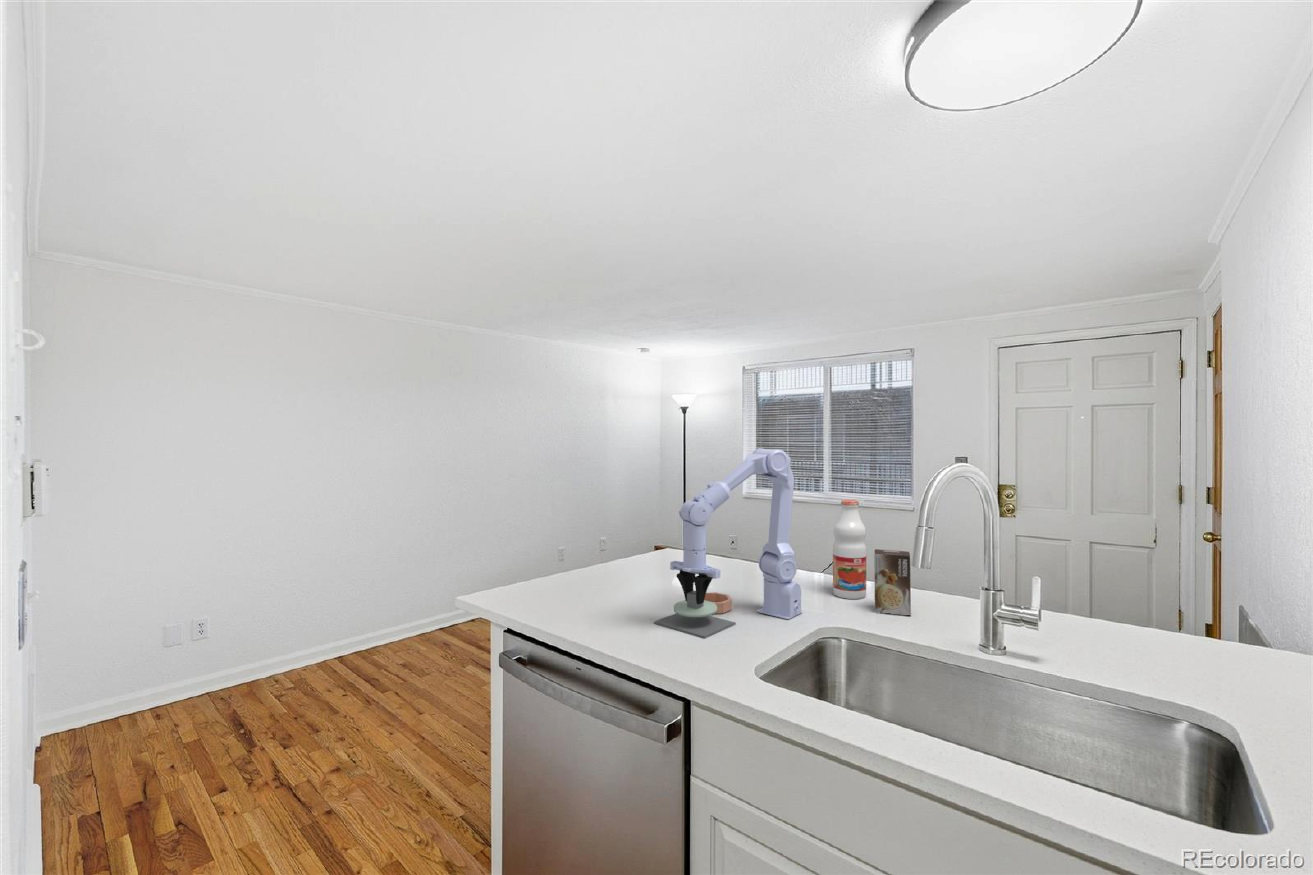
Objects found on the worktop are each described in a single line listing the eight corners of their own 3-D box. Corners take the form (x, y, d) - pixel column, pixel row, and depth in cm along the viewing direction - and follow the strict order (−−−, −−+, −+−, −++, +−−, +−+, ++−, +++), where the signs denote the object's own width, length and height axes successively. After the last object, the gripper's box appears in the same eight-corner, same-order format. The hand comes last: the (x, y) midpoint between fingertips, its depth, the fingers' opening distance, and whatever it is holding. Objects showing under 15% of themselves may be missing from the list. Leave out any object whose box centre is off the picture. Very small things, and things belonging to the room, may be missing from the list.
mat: (735, 624, 149) (735, 622, 149) (704, 638, 139) (704, 636, 139) (685, 611, 159) (685, 609, 159) (654, 623, 150) (654, 621, 150)
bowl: (737, 608, 162) (737, 597, 162) (716, 617, 155) (716, 605, 155) (708, 600, 169) (708, 590, 169) (686, 609, 161) (686, 598, 161)
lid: (725, 608, 150) (725, 591, 150) (699, 620, 142) (699, 602, 142) (691, 599, 157) (691, 584, 157) (664, 610, 149) (664, 594, 149)
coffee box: (910, 610, 160) (910, 551, 160) (911, 617, 154) (911, 556, 154) (874, 606, 164) (874, 548, 163) (873, 612, 158) (874, 553, 157)
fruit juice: (857, 590, 179) (858, 498, 179) (871, 599, 170) (872, 502, 169) (827, 591, 178) (828, 498, 178) (840, 600, 169) (840, 503, 169)
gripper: (662, 547, 151) (662, 599, 151) (708, 555, 141) (708, 611, 141) (680, 542, 156) (679, 593, 156) (725, 550, 146) (725, 604, 147)
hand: (694, 601), depth 149 cm, fingers closed on lid, 3 cm apart
